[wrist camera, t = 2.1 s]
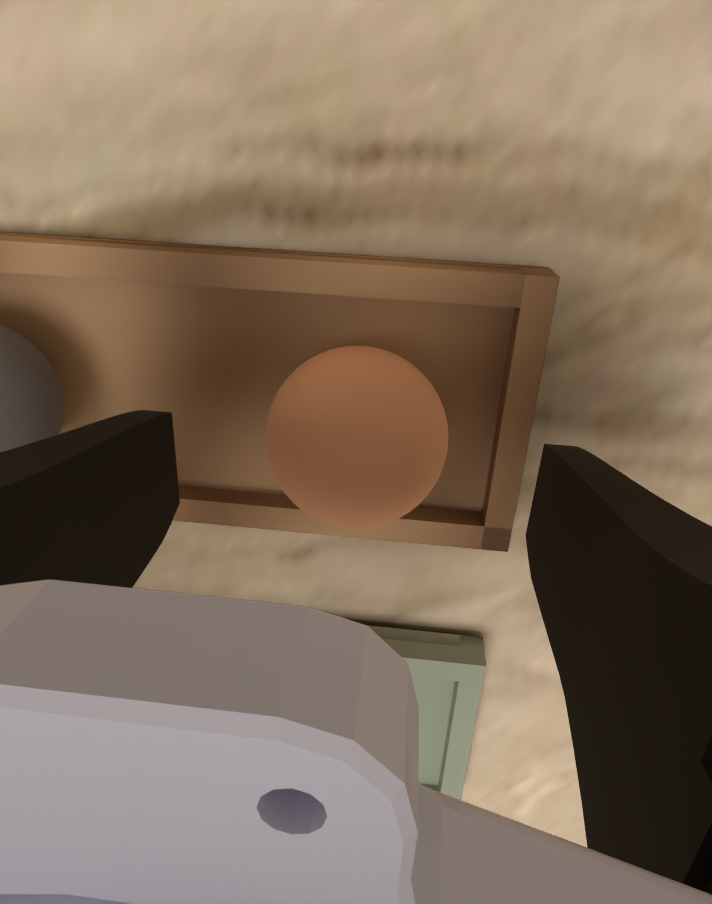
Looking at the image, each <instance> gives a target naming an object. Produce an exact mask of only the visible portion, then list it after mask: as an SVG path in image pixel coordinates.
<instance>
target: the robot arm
mask: <svg viewBox="0 0 712 904" xmlns="http://www.w3.org/2000/svg"><path fill="white" fill-rule="evenodd" d="M179 504H180V497H179V486H178V475H177V463H176V452H175V441H174V430H173V419H172V412H162V411H150V410H137V411H131V412H127V413H123V414H119V415H116V416H113V417H110V418H106V419H103V420H100V421H97V422H94V423H91V424H88V425H85V426H82V427H79V428H76V429H73V430H71V431H68V432H65V433H62V434H59V435H56V436H53V437H49V438H46V439H43V440H40V441H36V442H33V443H30V444H27V445H23V446H20V447H17V448H14V449H10V450H7V451H4V452H0V904H712V526H710V525H708V524H706V523H704V522H702V521H700V520H698V519H696V518H694V517H692V516H691V515H689V514H687V513H685V512H684V511H682V510H680V509H678V508H677V507H675V506H673V505H671V504H670V503H668V502H666V501H665V500H663V499H661V498H660V497H658V496H656V495H655V494H653V493H652V492H650V491H648V490H647V489H645V488H644V487H642V486H640V485H639V484H637V483H636V482H634V481H633V480H631V479H630V478H628V477H627V476H625V475H624V474H622V473H621V472H619V471H618V470H616V469H615V468H613V467H612V466H610V465H609V464H607V463H605V462H604V461H602V460H601V459H599V458H598V457H596V456H594V455H593V454H591V453H589V452H588V451H586V450H584V449H582V448H579V447H575V446H563V445H552V444H544V447H543V452H542V457H541V462H540V467H539V472H538V477H537V482H536V487H535V492H534V497H533V502H532V507H531V512H530V517H529V522H528V527H527V532H526V542H527V550H528V559H529V566H530V573H531V579H532V582H533V586H534V590H535V593H536V597H537V600H538V604H539V607H540V611H541V614H542V617H543V621H544V624H545V628H546V631H547V634H548V638H549V641H550V644H551V648H552V651H553V655H554V658H555V661H556V665H557V668H558V671H559V675H560V679H561V683H562V687H563V691H564V696H565V701H566V706H567V712H568V718H569V724H570V730H571V735H572V741H573V747H574V754H575V760H576V767H577V774H578V780H579V787H580V794H581V800H582V807H583V815H584V823H585V831H586V838H587V846H588V848H586V847H584V846H581V845H578V844H576V843H573V842H570V841H568V840H565V839H563V838H560V837H557V836H555V835H552V834H549V833H547V832H544V831H541V830H539V829H536V828H533V827H531V826H528V825H525V824H523V823H520V822H517V821H515V820H512V819H510V818H507V817H504V816H502V815H499V814H496V813H494V812H491V811H488V810H486V809H483V808H480V807H478V806H475V805H472V804H470V803H467V802H464V801H462V800H459V799H456V798H454V797H451V796H449V795H446V794H443V793H441V792H438V791H435V790H433V789H430V788H427V787H425V786H422V785H421V784H420V783H419V782H418V762H419V706H418V702H417V698H416V693H415V689H414V685H413V681H412V676H411V672H410V668H409V664H408V663H407V662H406V661H405V660H404V659H403V658H402V657H401V656H399V655H398V654H397V653H396V652H395V651H394V650H393V649H392V648H391V647H390V646H389V645H388V644H387V643H386V642H385V641H383V640H382V639H381V638H380V637H379V636H378V635H377V634H376V633H375V632H374V631H373V630H372V629H371V628H370V627H368V626H367V625H364V624H361V623H358V622H354V621H351V620H348V619H345V618H342V617H339V616H336V615H332V614H329V613H326V612H323V611H320V610H317V609H314V608H311V607H307V606H298V605H288V604H279V603H269V602H260V601H250V600H241V599H231V598H222V597H212V596H203V595H193V594H184V593H174V592H164V591H155V590H145V589H136V588H132V587H133V586H134V584H135V583H136V581H137V580H138V578H139V577H140V575H141V574H142V572H143V571H144V569H145V568H146V566H147V565H148V563H149V562H150V560H151V559H152V557H153V556H154V554H155V552H156V551H157V549H158V548H159V546H160V545H161V543H162V541H163V539H164V537H165V535H166V533H167V531H168V529H169V527H170V525H171V522H172V520H173V518H174V515H175V513H176V511H177V508H178V506H179Z"/></svg>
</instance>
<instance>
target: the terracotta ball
mask: <svg viewBox="0 0 712 904" xmlns="http://www.w3.org/2000/svg"><path fill="white" fill-rule="evenodd" d="M266 450H267V455H268V459H269V463H270V466H271V469H272V472H273V474H274V476H275V478H276V480H277V482H278V484H279V485H280V487H281V488H282V490H283V491H284V492H285V494H286V495H287V496H288V498H289V499H290V500H291V501H292V502H293V503H294V504H295V505H296V506H298V507H299V508H300V509H301V510H302V511H304V512H305V513H307V514H308V515H310V516H312V517H314V518H316V519H318V520H320V521H322V522H325V523H327V524H331V525H334V526H338V527H344V528H358V529H360V528H371V527H376V526H381V525H384V524H387V523H390V522H392V521H394V520H396V519H399V518H400V517H402V516H404V515H405V514H407V513H409V512H410V511H412V510H413V509H414V508H415V507H417V506H418V505H419V504H420V503H421V502H422V501H423V500H424V499H425V498H426V496H427V495H428V494H429V493H430V491H431V490H432V488H433V487H434V486H435V484H436V482H437V480H438V478H439V476H440V474H441V472H442V469H443V466H444V463H445V460H446V455H447V450H448V424H447V419H446V415H445V411H444V408H443V405H442V403H441V400H440V398H439V396H438V394H437V392H436V390H435V389H434V387H433V386H432V384H431V383H430V382H429V381H428V379H427V378H426V377H425V376H424V375H423V374H422V373H421V372H420V371H419V370H418V369H417V368H416V367H415V366H414V365H412V364H411V363H410V362H408V361H407V360H405V359H404V358H402V357H400V356H398V355H396V354H394V353H391V352H389V351H386V350H383V349H379V348H375V347H368V346H346V347H339V348H335V349H331V350H328V351H325V352H323V353H320V354H318V355H316V356H314V357H312V358H311V359H309V360H307V361H306V362H304V363H303V364H302V365H300V366H299V367H298V368H297V369H296V370H295V371H294V372H293V373H292V374H291V375H290V376H289V377H288V378H287V379H286V380H285V382H284V383H283V384H282V386H281V387H280V389H279V390H278V392H277V394H276V396H275V398H274V400H273V403H272V405H271V408H270V411H269V414H268V419H267V424H266Z"/></svg>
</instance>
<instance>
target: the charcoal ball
mask: <svg viewBox="0 0 712 904" xmlns="http://www.w3.org/2000/svg"><path fill="white" fill-rule="evenodd" d="M63 418H64V397H63V392H62V388H61V384H60V382H59V379H58V376H57V374H56V372H55V370H54V368H53V367H52V365H51V364H50V362H49V360H48V359H47V358H46V357H45V355H44V354H43V353H42V352H41V351H40V350H39V349H38V348H37V347H36V346H35V345H34V344H33V343H31V342H30V341H29V340H28V339H26V338H25V337H23V336H22V335H21V334H19V333H18V332H16V331H14V330H12V329H10V328H8V327H6V326H3V325H1V324H0V452H4V451H7V450H10V449H14V448H17V447H20V446H23V445H27V444H30V443H33V442H36V441H40V440H43V439H46V438H49V437H53V436H56V435H59V433H60V430H61V427H62V423H63Z"/></svg>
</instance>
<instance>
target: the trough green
mask: <svg viewBox="0 0 712 904" xmlns="http://www.w3.org/2000/svg"><path fill="white" fill-rule="evenodd" d="M367 626H368V627H370V628H371V629H372V630H373V631H374V632H375V633H376V634H377V635H378V636H379V637H380V638H381V639H382V640H383V641H385V642H386V643H387V644H388V645H389V646H390V647H391V648H392V649H393V650H394V651H395V652H396V653H397V654H398V655H399V656H401V657H402V658H403V659H404V660H405V661H406V662H407V663H408V664H409V668H410V672H411V676H412V681H413V685H414V689H415V693H416V698H417V702H418V706H419V762H418V782H419V783H420V784H421V785H422V786H425V787H427V788H430V789H433V790H435V791H438V792H441V793H443V794H446V795H449V796H451V797H454V798H456V799H459V800H461V797H462V792H463V787H464V782H465V776H466V771H467V766H468V760H469V755H470V750H471V744H472V739H473V734H474V728H475V723H476V718H477V713H478V707H479V702H480V697H481V691H482V686H483V681H484V675H485V670H486V661H485V653H484V645H483V637H476V636H466V635H456V634H447V633H437V632H427V631H417V630H408V629H398V628H388V627H379V626H369V625H367Z"/></svg>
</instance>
